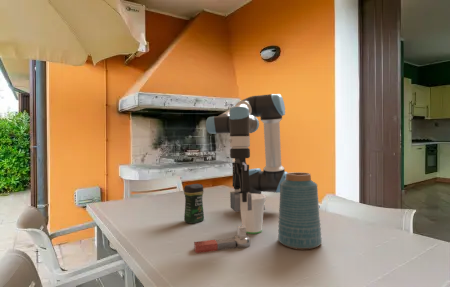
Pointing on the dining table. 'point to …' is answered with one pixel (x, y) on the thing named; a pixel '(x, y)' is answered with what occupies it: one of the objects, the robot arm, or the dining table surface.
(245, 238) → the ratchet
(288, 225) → the vase
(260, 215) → the cup
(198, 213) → the coffee jar
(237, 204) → the grey wooden cube
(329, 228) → the dining table surface
